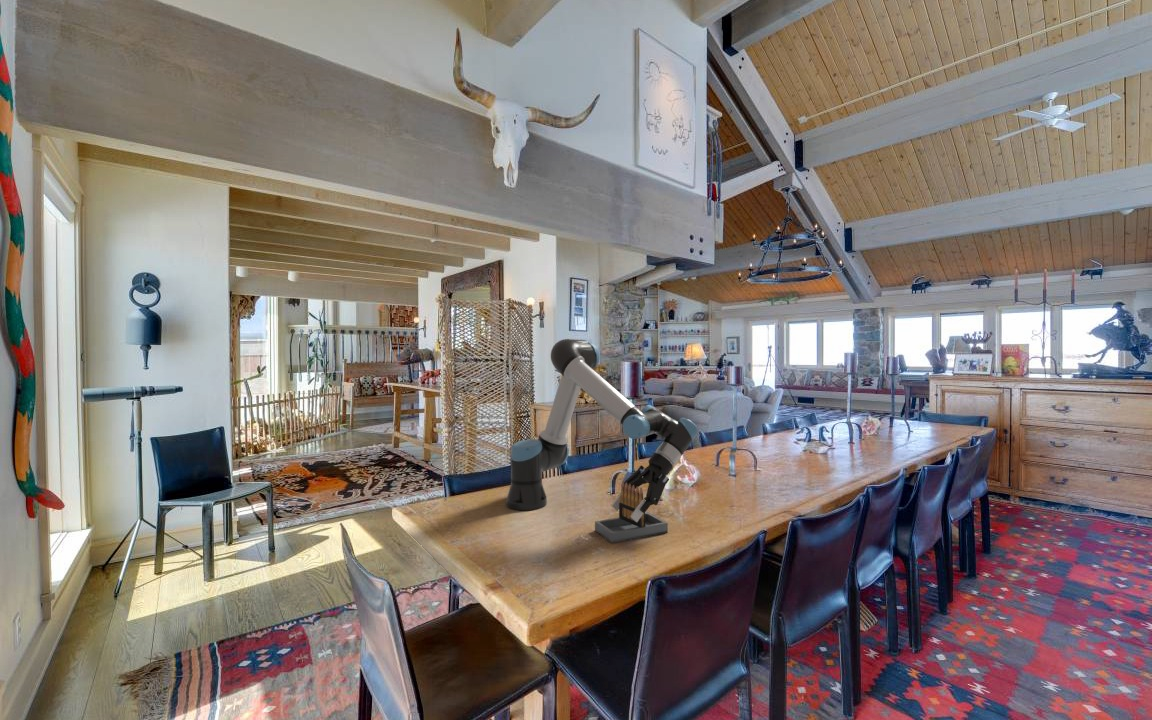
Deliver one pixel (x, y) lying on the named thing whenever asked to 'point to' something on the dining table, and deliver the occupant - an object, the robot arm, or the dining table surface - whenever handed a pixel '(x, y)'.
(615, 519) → the tray
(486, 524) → the dining table surface
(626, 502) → the ammunition clip
